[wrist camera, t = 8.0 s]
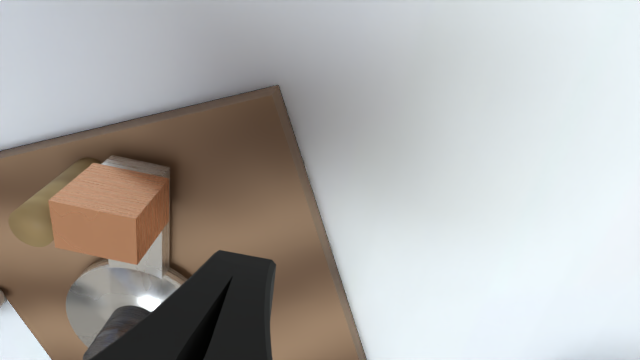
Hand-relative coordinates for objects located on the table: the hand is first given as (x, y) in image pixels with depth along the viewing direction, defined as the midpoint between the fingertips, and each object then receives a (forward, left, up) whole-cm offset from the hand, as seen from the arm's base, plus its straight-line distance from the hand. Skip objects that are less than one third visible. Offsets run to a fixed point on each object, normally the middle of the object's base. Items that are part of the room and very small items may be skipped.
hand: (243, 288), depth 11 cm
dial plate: (+5, -9, -8) cm, 13 cm away
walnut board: (+6, -9, -9) cm, 14 cm away
